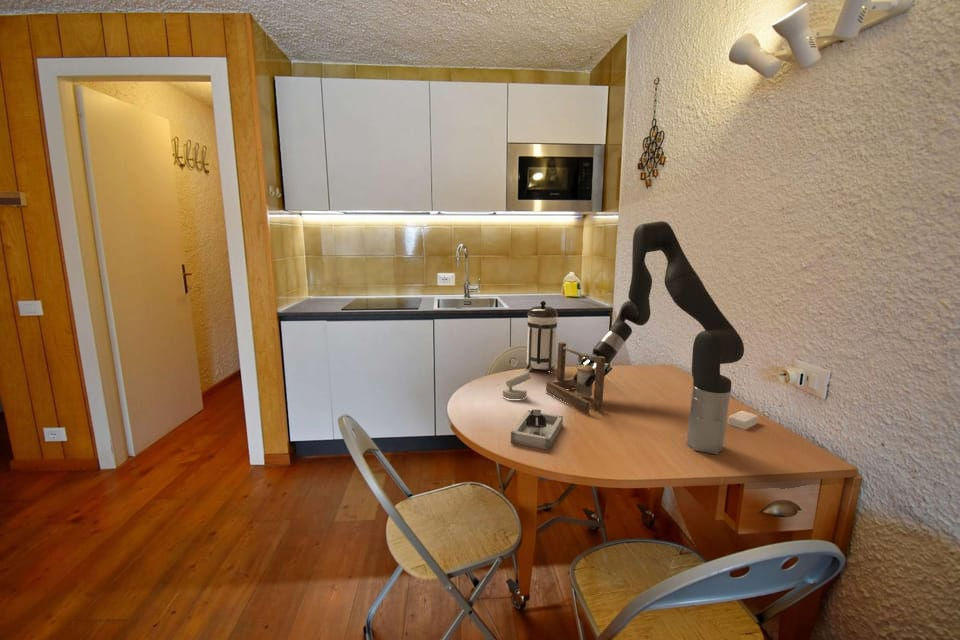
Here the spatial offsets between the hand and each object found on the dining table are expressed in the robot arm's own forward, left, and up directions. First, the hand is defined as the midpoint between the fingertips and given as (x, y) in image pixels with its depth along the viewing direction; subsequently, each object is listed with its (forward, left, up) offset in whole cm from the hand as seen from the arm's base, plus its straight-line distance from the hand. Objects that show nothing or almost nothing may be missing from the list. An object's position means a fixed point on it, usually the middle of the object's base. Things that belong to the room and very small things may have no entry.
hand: (580, 382), depth 155 cm
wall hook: (-7, +22, -6) cm, 23 cm away
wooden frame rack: (0, 0, -6) cm, 6 cm away
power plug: (-31, +8, -6) cm, 33 cm away
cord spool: (+1, -1, -4) cm, 5 cm away
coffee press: (+27, +22, -6) cm, 35 cm away
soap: (+1, -51, -7) cm, 51 cm away
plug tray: (-33, +7, -6) cm, 34 cm away
